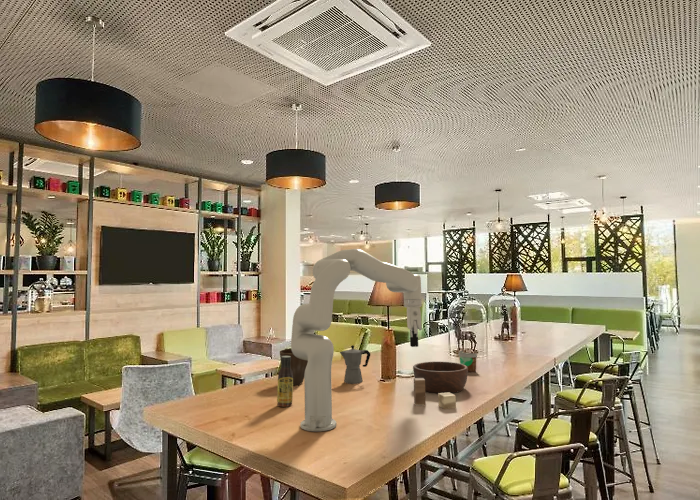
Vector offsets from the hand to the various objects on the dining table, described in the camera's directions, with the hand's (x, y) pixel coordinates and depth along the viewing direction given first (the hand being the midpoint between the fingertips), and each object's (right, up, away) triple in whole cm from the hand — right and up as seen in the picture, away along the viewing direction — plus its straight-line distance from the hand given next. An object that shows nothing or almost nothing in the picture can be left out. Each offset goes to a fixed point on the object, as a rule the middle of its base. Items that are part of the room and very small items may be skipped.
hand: (414, 346), depth 194 cm
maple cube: (+11, -21, -14) cm, 28 cm away
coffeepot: (-25, -25, +32) cm, 48 cm away
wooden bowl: (+15, -23, +16) cm, 32 cm away
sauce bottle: (-54, -23, -8) cm, 59 cm away
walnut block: (+1, -22, -9) cm, 23 cm away
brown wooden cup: (-55, -25, +31) cm, 68 cm away
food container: (+36, -25, +54) cm, 70 cm away
